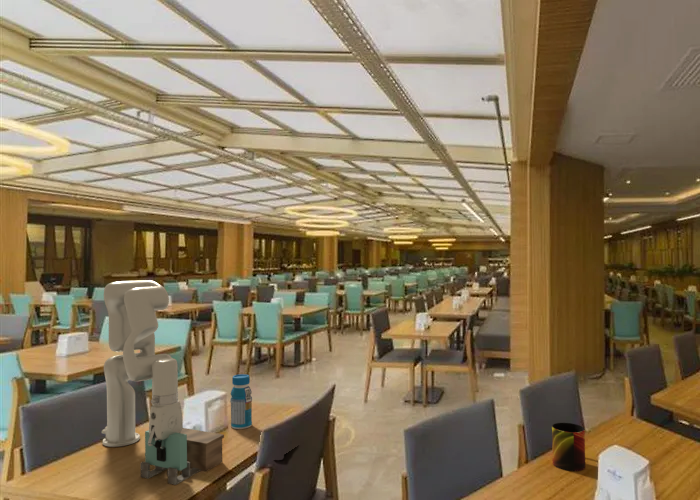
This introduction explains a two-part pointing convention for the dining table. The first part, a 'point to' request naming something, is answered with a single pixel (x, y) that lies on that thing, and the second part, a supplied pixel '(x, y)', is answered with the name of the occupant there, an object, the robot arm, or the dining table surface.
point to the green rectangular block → (168, 451)
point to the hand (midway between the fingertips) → (165, 458)
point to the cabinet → (192, 456)
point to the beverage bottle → (241, 402)
